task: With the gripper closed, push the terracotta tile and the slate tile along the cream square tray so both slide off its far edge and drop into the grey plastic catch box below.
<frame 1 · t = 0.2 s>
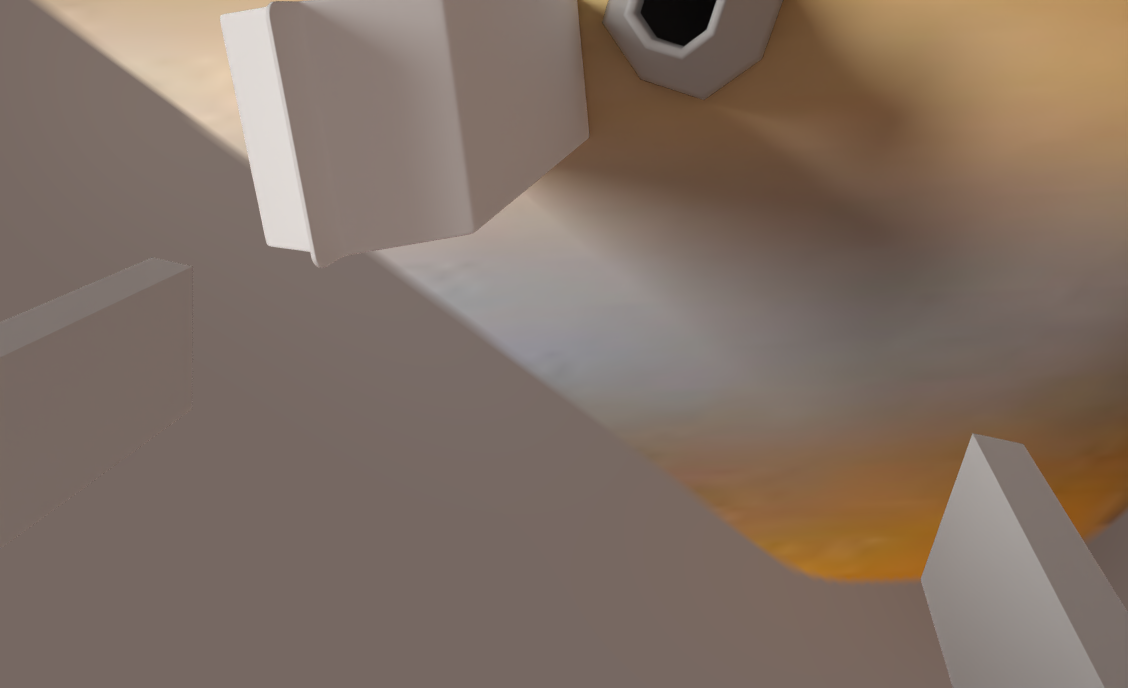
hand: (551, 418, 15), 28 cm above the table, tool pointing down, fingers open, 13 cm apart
milk: (519, 74, 41), on the table
flask: (693, 5, 39), on the table
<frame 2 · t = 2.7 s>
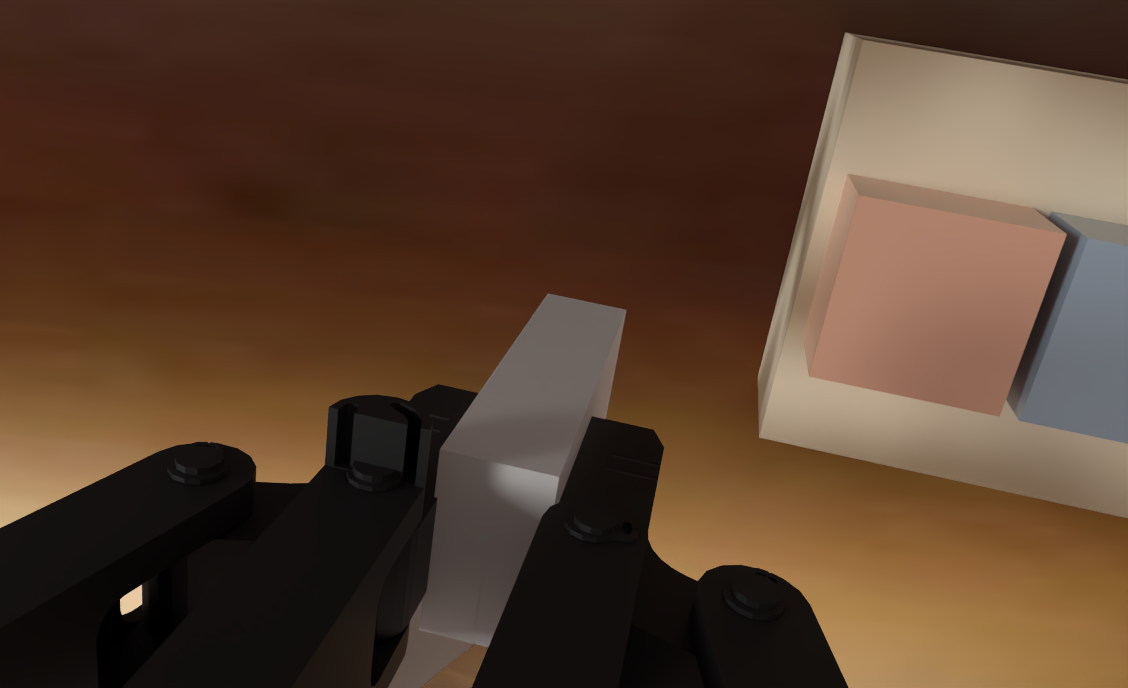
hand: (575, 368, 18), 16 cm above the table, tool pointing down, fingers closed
slate tile: (1112, 315, 26), point 5 cm above the table, touching cream square tray
terracotta tile: (912, 276, 26), point 5 cm above the table, touching cream square tray
cream square tray: (972, 250, 31), on the table
flask: (413, 586, 40), on the table
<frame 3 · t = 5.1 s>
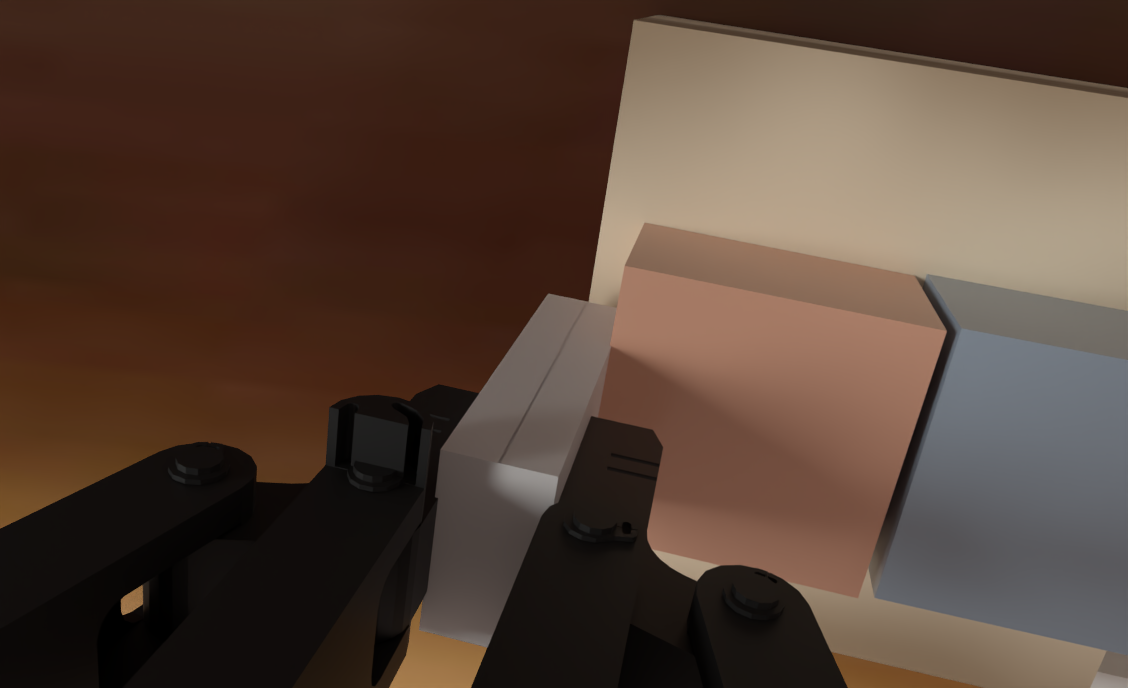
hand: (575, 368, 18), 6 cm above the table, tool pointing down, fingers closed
slate tile: (1024, 424, 17), point 5 cm above the table, touching cream square tray
terracotta tile: (746, 371, 18), point 5 cm above the table, touching gripper
cream square tray: (850, 313, 22), on the table
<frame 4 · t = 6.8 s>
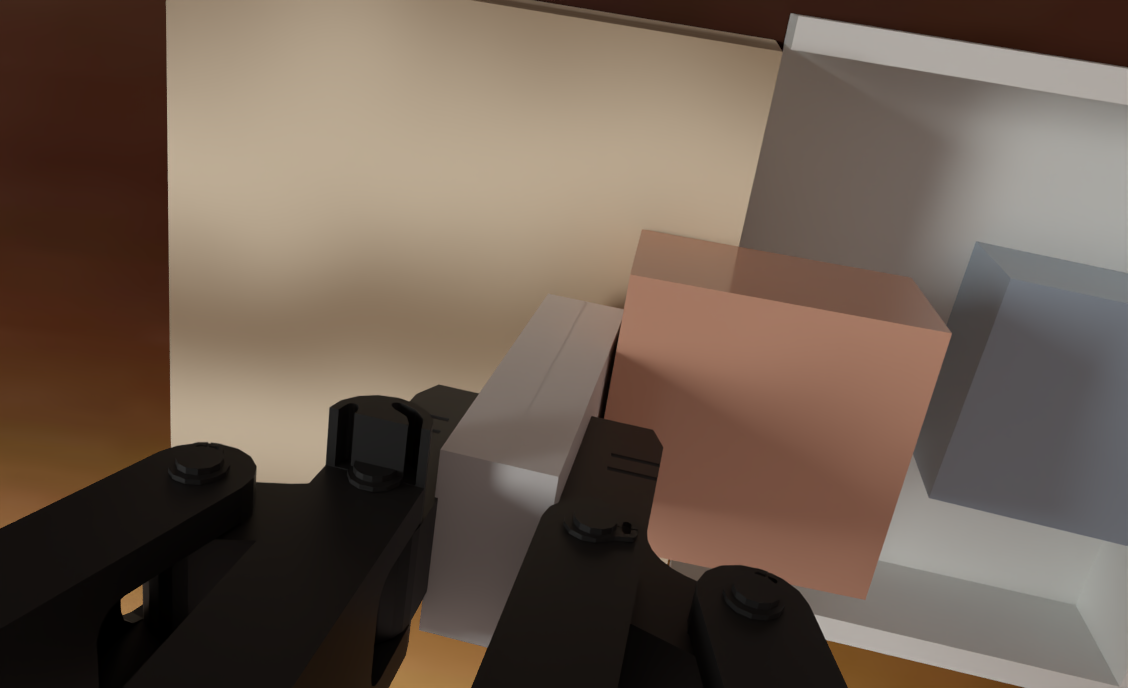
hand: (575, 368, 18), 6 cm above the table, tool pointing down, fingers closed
slate tile: (1094, 422, 19), point 3 cm above the table, tilted 180°, touching catch box
terracotta tile: (745, 375, 18), point 5 cm above the table, touching cream square tray
cream square tray: (492, 249, 23), on the table
catch box: (950, 340, 22), on the table
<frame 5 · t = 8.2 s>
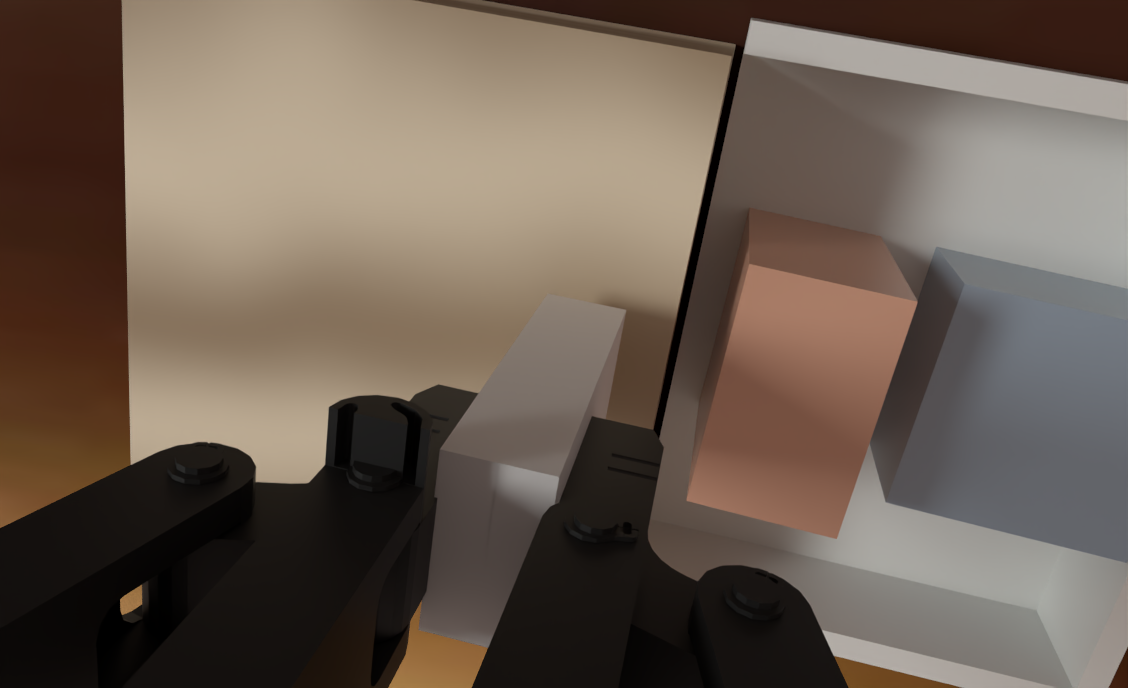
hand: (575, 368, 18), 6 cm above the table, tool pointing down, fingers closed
slate tile: (1048, 428, 19), point 3 cm above the table, tilted 180°, touching catch box
terracotta tile: (720, 343, 20), point 3 cm above the table, tilted 90°, touching catch box
cream square tray: (457, 251, 23), on the table
catch box: (910, 344, 22), on the table
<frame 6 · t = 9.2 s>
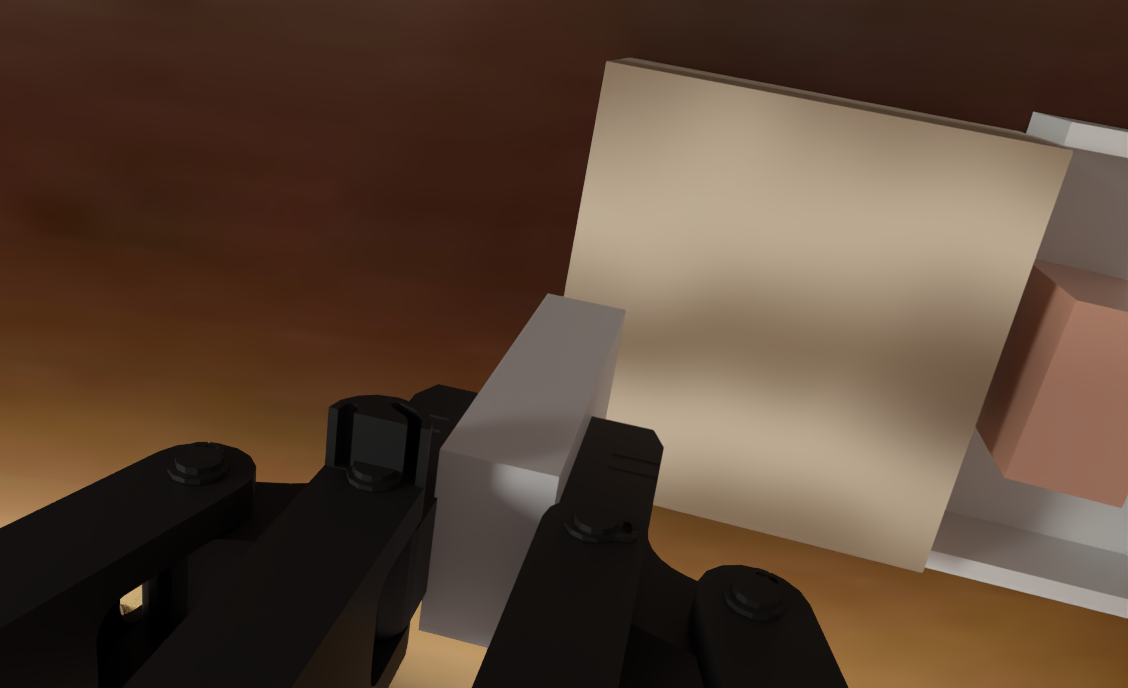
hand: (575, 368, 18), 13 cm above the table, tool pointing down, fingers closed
terracotta tile: (1013, 360, 26), point 3 cm above the table, tilted 90°, touching catch box
cream square tray: (770, 284, 30), on the table
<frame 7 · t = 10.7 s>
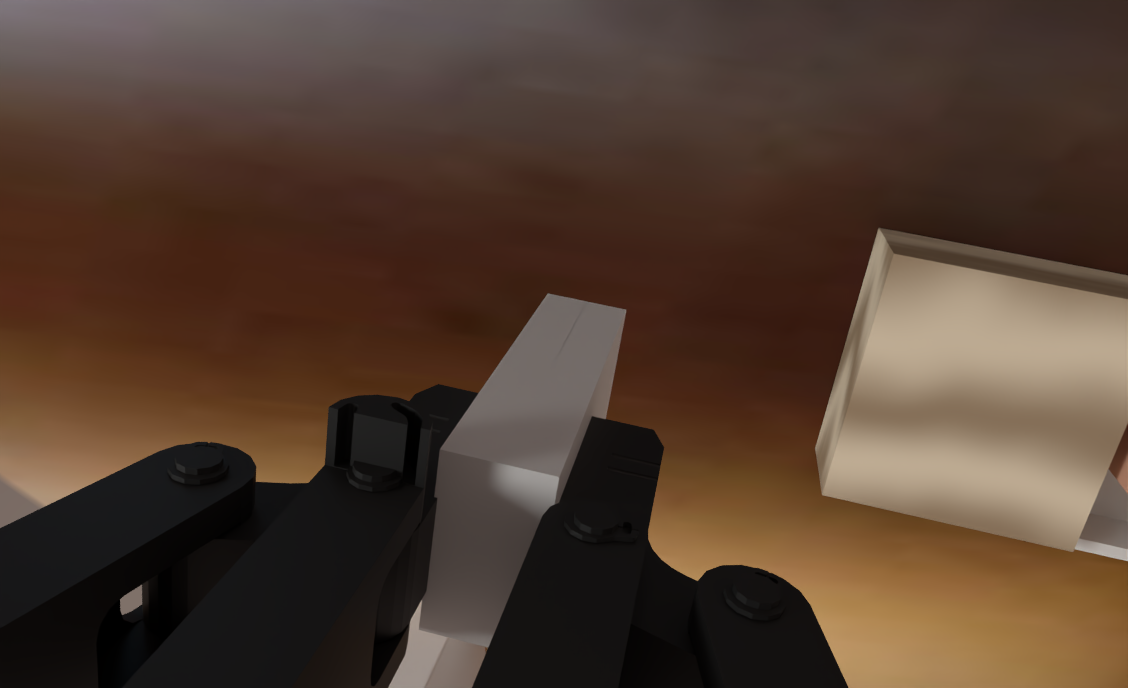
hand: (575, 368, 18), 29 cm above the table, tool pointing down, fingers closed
cream square tray: (962, 367, 46), on the table
milk: (436, 619, 57), on the table
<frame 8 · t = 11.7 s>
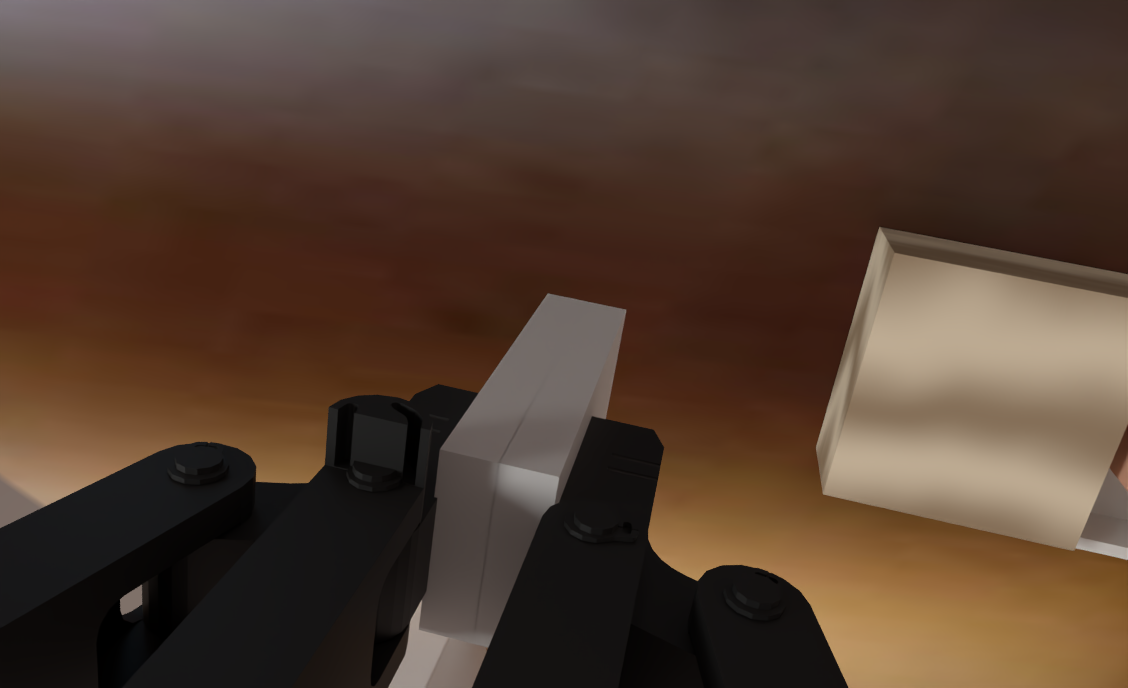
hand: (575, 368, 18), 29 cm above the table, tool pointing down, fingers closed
cream square tray: (963, 366, 46), on the table
milk: (437, 619, 57), on the table
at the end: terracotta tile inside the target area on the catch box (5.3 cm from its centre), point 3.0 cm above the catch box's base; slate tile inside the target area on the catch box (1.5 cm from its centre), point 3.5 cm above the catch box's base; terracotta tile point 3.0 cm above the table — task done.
